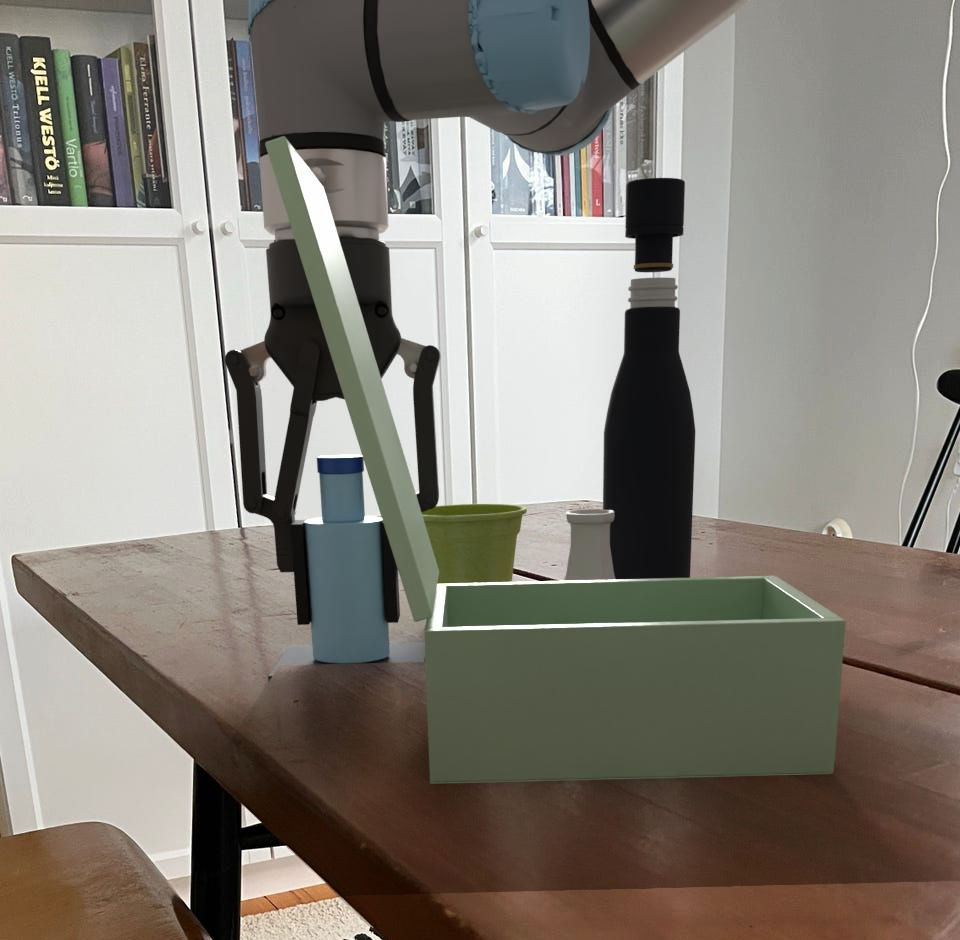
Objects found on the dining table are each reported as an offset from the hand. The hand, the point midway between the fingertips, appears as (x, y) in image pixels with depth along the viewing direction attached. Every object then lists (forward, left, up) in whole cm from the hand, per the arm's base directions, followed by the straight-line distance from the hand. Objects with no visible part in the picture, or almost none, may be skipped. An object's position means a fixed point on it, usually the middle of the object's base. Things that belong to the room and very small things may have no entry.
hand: (349, 619), depth 85 cm
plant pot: (-8, -16, -3) cm, 18 cm away
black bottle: (-21, -8, -3) cm, 23 cm away
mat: (0, 0, -3) cm, 3 cm away
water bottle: (0, 0, -2) cm, 2 cm away
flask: (-16, +2, -3) cm, 16 cm away
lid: (-4, +23, +15) cm, 28 cm away
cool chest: (-16, +23, -3) cm, 28 cm away
